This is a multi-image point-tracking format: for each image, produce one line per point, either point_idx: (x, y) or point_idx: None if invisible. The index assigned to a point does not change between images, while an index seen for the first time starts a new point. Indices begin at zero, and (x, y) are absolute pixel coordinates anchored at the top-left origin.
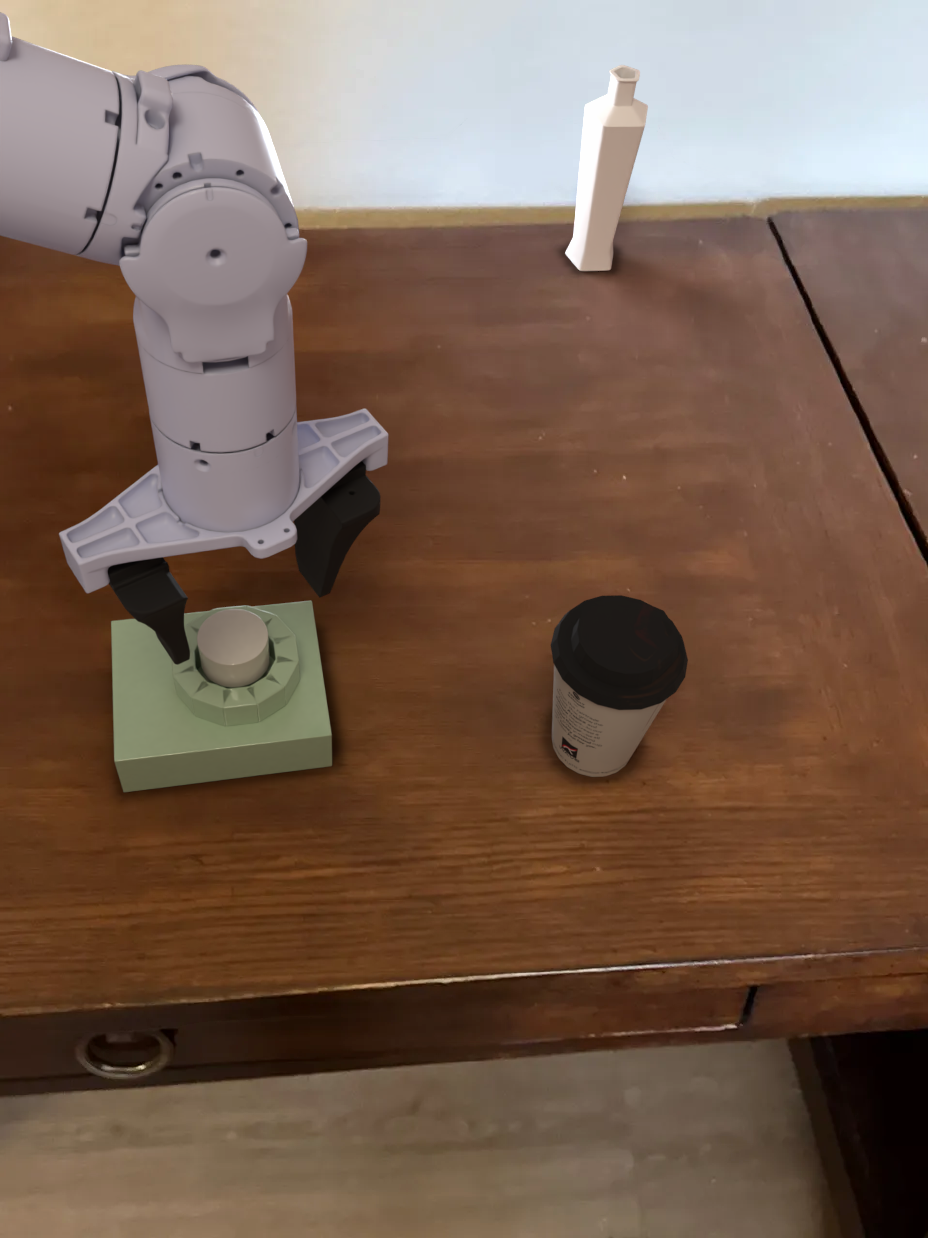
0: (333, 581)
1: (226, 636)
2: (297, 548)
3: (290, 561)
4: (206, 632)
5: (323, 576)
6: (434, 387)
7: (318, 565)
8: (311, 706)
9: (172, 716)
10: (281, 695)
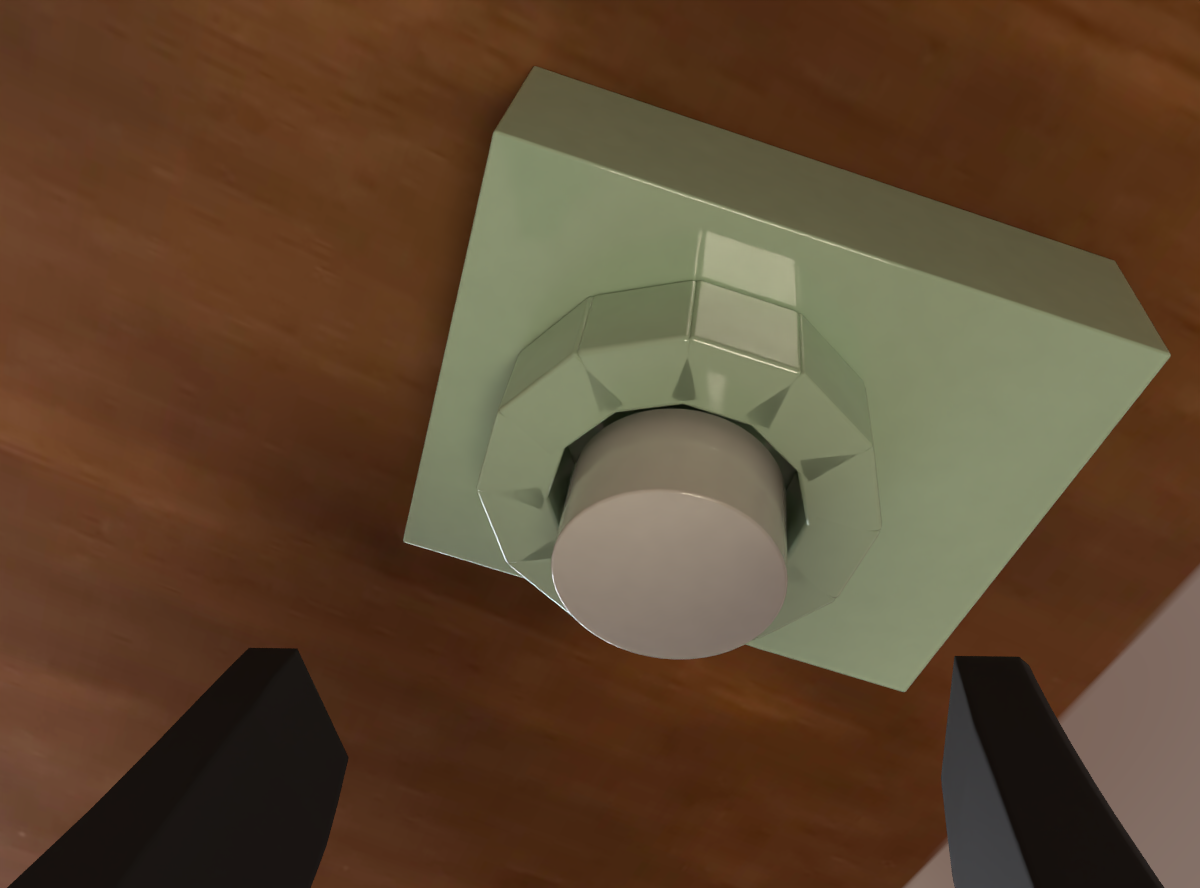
0: (187, 717)
1: (686, 588)
2: (301, 882)
3: (431, 612)
4: (737, 622)
5: (204, 782)
6: (42, 782)
7: (207, 840)
8: (518, 258)
9: (924, 410)
10: (596, 330)
